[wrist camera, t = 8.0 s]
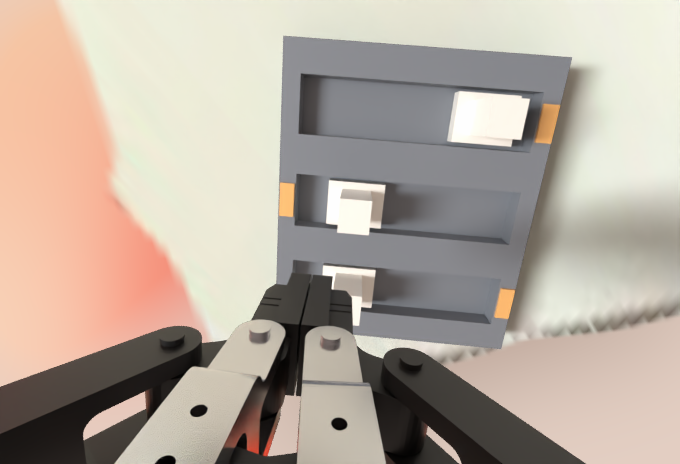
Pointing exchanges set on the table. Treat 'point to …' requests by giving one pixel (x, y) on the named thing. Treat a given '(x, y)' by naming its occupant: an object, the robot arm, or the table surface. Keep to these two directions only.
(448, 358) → the table surface
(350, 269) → the tab
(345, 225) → the tab
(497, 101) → the tab
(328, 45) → the switch bank
